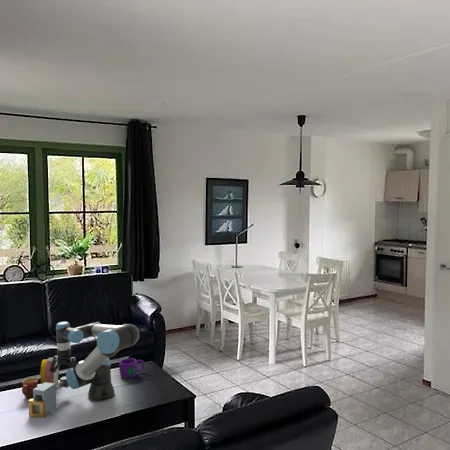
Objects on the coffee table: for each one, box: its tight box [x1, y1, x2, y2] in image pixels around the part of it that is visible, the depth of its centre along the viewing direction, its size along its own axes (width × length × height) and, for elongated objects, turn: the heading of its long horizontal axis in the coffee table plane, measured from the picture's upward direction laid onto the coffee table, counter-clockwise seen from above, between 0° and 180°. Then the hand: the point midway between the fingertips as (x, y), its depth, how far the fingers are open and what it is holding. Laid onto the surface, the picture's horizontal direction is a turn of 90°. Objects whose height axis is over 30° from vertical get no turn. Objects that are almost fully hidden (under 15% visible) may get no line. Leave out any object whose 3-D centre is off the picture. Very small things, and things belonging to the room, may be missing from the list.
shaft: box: [56, 375, 70, 392], centre depth 273 cm, size 5×21×5 cm, turn 164°
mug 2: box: [118, 357, 146, 379], centre depth 313 cm, size 17×11×10 cm, turn 124°
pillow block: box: [33, 382, 59, 416], centre depth 263 cm, size 12×10×14 cm
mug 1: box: [21, 377, 39, 400], centre depth 280 cm, size 12×9×10 cm
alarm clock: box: [39, 356, 60, 385], centre depth 296 cm, size 15×8×18 cm, turn 9°
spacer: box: [27, 399, 47, 419], centre depth 257 cm, size 9×2×9 cm, turn 74°
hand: (65, 384), depth 281 cm, fingers open, 13 cm apart
